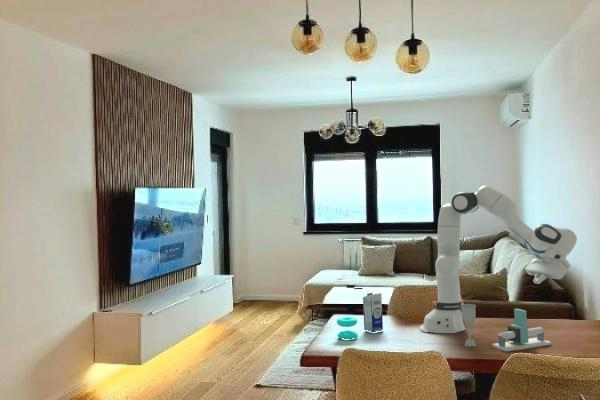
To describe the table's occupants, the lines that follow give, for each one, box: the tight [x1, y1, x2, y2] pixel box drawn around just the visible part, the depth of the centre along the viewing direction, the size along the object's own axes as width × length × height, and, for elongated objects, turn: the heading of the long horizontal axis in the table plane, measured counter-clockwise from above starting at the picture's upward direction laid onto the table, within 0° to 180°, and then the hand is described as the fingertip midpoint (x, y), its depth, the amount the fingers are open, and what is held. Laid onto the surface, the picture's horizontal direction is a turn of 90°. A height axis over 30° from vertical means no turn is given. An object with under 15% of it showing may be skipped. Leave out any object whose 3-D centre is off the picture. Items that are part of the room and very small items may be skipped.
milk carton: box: [362, 292, 384, 332], centre depth 284 cm, size 7×7×20 cm
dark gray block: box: [507, 325, 520, 343], centre depth 245 cm, size 2×6×6 cm, turn 18°
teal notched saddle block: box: [509, 308, 529, 344], centre depth 246 cm, size 4×7×14 cm, turn 18°
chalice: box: [461, 303, 477, 348], centre depth 251 cm, size 7×7×18 cm
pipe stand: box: [492, 326, 552, 352], centre depth 246 cm, size 24×9×7 cm, turn 108°
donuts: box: [336, 316, 359, 339], centre depth 272 cm, size 10×10×10 cm
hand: (536, 282), depth 249 cm, fingers closed
